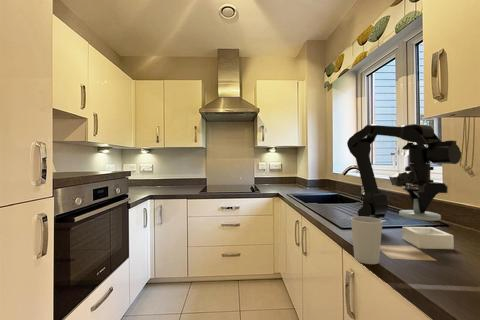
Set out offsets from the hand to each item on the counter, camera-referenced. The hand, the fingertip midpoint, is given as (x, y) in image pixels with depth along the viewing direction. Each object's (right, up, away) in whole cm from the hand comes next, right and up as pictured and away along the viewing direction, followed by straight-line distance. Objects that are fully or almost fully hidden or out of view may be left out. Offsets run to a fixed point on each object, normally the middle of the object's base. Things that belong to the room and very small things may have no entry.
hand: (419, 211), depth 83 cm
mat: (-9, -12, -5) cm, 16 cm away
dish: (+4, -12, +2) cm, 13 cm away
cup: (-22, -12, -11) cm, 28 cm away
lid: (0, -2, 0) cm, 2 cm away
